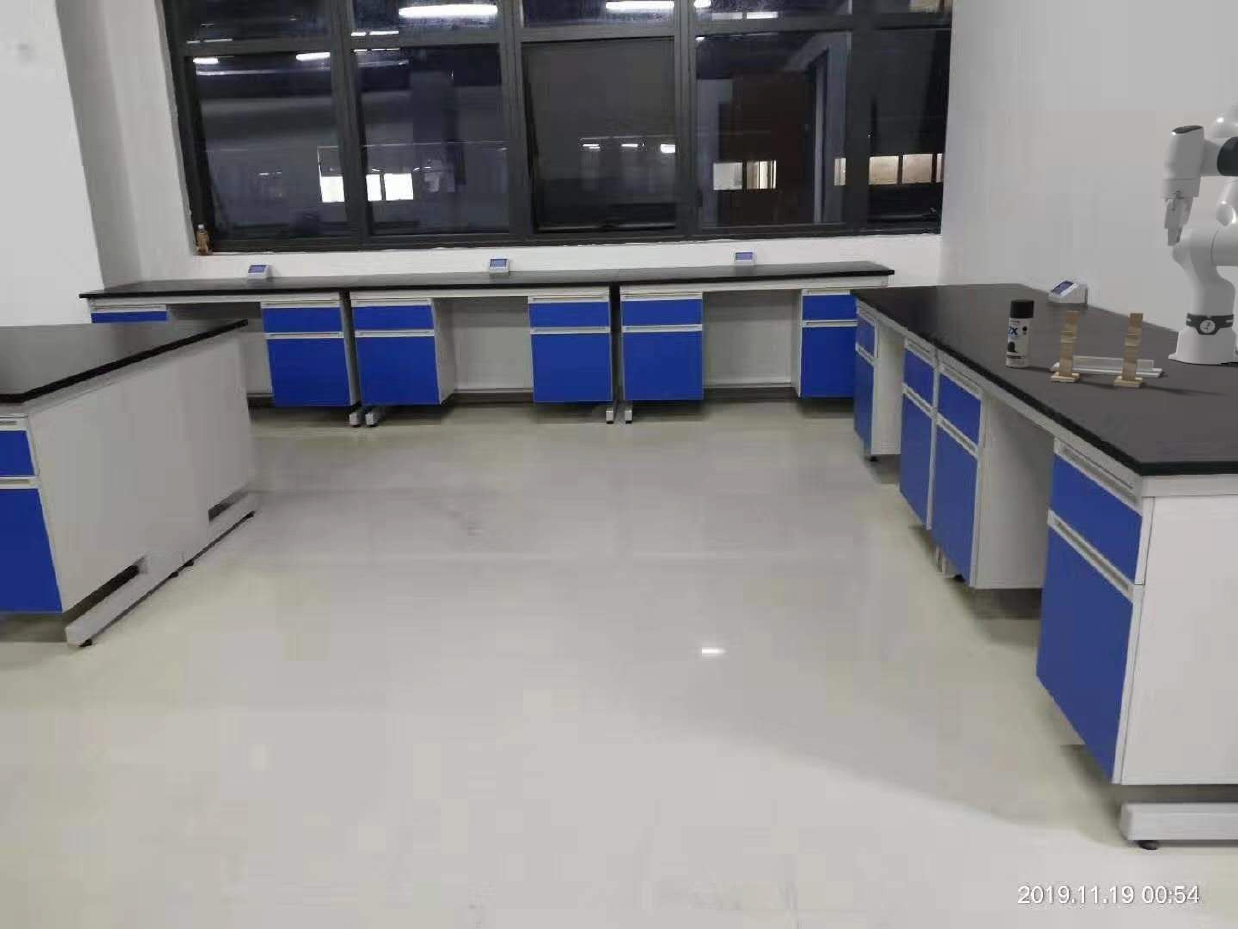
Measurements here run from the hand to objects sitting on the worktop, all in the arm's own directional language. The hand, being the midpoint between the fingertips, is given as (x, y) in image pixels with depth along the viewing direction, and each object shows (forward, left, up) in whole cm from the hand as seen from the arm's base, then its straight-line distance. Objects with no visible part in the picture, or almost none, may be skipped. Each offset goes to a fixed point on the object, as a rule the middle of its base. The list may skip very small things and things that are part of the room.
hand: (1173, 244), depth 254 cm
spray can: (-5, -38, -37) cm, 53 cm away
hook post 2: (+10, -6, -37) cm, 38 cm away
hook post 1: (+10, -22, -37) cm, 44 cm away
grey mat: (-6, -14, -37) cm, 40 cm away
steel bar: (-6, -14, -36) cm, 39 cm away
